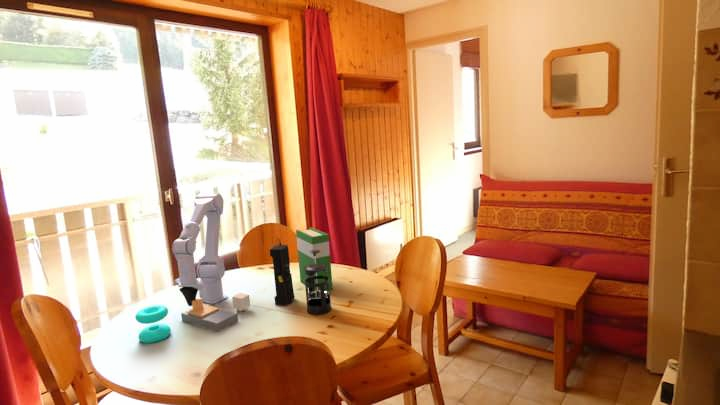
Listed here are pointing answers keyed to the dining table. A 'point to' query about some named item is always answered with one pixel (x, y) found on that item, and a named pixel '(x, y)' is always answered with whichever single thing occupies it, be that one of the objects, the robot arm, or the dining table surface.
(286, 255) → the portable radio
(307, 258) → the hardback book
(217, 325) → the grey recessed box
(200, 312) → the shutter
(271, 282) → the dining table surface
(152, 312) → the cyan discs
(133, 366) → the dining table surface
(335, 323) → the dining table surface
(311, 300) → the french press
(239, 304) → the beige rectangular block
